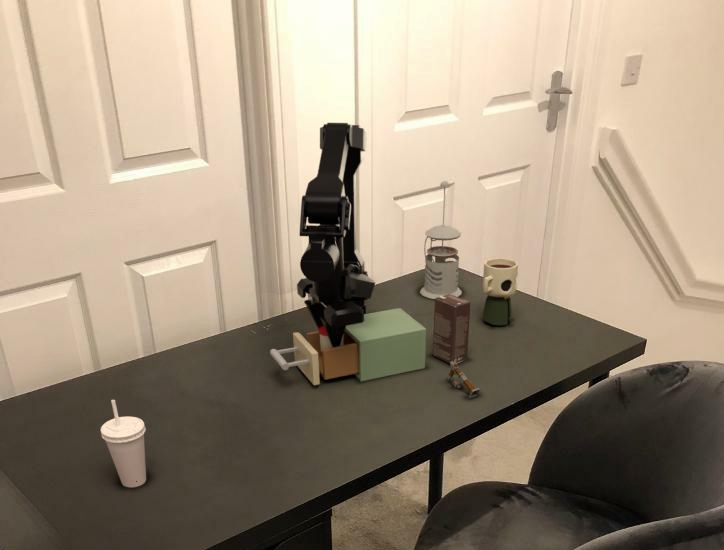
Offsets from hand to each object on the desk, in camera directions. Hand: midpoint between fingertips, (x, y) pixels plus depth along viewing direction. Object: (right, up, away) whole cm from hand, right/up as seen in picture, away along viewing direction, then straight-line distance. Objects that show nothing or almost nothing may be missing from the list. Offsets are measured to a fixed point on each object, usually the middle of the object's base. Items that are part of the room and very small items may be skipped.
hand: (331, 344), depth 155 cm
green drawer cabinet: (+9, -2, +7) cm, 12 cm away
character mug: (+34, +9, +23) cm, 42 cm away
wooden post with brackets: (+24, -9, -3) cm, 26 cm away
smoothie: (-29, -26, -27) cm, 48 cm away
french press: (+23, +20, +39) cm, 49 cm away
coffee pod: (0, -1, +1) cm, 1 cm away
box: (+23, -1, +9) cm, 25 cm away
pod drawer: (-2, -5, +2) cm, 5 cm away
